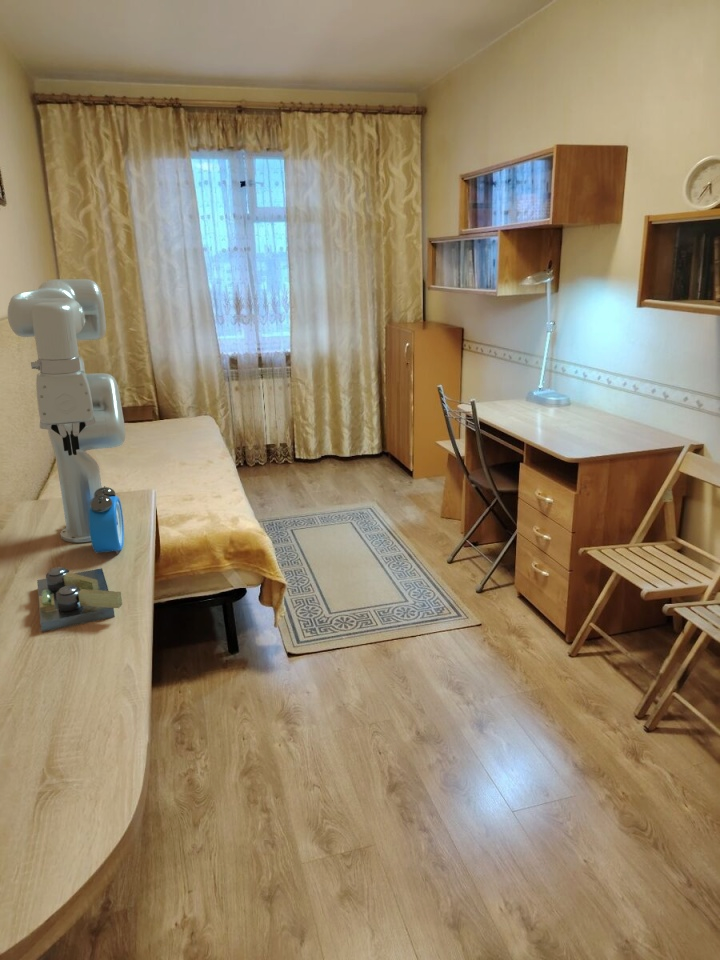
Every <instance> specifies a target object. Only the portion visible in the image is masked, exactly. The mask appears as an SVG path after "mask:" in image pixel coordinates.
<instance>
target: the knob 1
mask: <svg viewBox="0 0 720 960" xmlns="http://www.w3.org/2000/svg"><path fill="white" fill-rule="evenodd" d="M45 579H46V580H47V586H48V590H50V591H59V589H60V588H62V587H64V586H69V585H74V586H76V587H78V588H80V590H82V589H87V590H99V588H98V580H96V579H93V578H89V577H85V576H81V575H77V574H74V573H73V572H70V570H69V569H66V568H65V567H62V566H57V567H53V568H50V569H49V570H48V572H46V574H45Z"/></svg>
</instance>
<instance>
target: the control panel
mask: <svg viewBox="0 0 720 960" xmlns="http://www.w3.org/2000/svg"><path fill="white" fill-rule="evenodd" d="M73 574H77V575H81V576H85V577H89V578H93V579H96V580H98V588H99V590H102V591H110V590H109V587H108V584H107V580H106V577H105V573H104V570H103V568H97V569H92V570H85V571H79V572H75V573H73ZM36 582H37V593H38V594H37V595H38V597H37V598H38V608H39V611H38V613H39V623H40V630H41V633H45V632H49V631H54V630H58V629H59V630H60V629H64V628H68V627H74V626H78V625H82V624H87V623H92V622H96V621H101V620H105V619H110V618H115V610H114V609H115V608H108V607H94V606H81V607H79V608H78V609H75V610H72V611H60V610H59V609H58V605H57V598H56V592H57V591H50V590H48V586H47V580H46V578H40V579H37V581H36Z"/></svg>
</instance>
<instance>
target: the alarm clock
mask: <svg viewBox="0 0 720 960" xmlns="http://www.w3.org/2000/svg"><path fill="white" fill-rule="evenodd" d="M124 525H125V524H124V515H123V509H122V503H121V500H120V497H118V496H117V494H116V491H115V490H114V489H113V488H111V487H108V486H105V485H104V486H103V487H102V488H99V489H97V490H96V491H95V493H94V498H92V499H91V501H90V507H89V527H90V536H91V541H90V542H91V545H92V549H93V551H94V552H95V553H97V554H98V553H99V554H100V553H107V552H108V553H109V552H116V555H117V556H118V555H119V551H122V550H123V548H124V541H125V540H124V539H125V537H124V536H125V532H124V530H125V526H124Z"/></svg>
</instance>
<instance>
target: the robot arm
mask: <svg viewBox="0 0 720 960" xmlns="http://www.w3.org/2000/svg"><path fill="white" fill-rule="evenodd" d="M102 293H103V292H102V290H101V288H100V286H99V285H98V284H97V283H96V281H94V280H92V279H88V278H79V279H78V278H76V279H75V278H72V279H71V278H70V279H69V278H67V279H64V278H61V279H60V278H59V279H58V278H57V279H56V278H55V279H49V280H45V281H44V282H42V283H41V284H40V285H39V286H38V288H36V289H32V290H30V291H29V290H28V291H25V292H19V293H16V294H14V295H13V296H12V297H11V298H10V300H9V303H8V307H7V320H8V324H9V326H10V330H11V331H12V332H13V333H14V334H15V335H16V336H18V337H21V338H22V337H23V338H33V337H34V340H35V346H36V352H37V353H36V354H37V359H36V360H35V361H31V362H30V367H31V370H37V371H39V373H37V374H36V378H35V379H36V381H35V382H36V383H35V385H36V386H35V387H36V389H35V390H36V397H37V398H36V399H37V410H38V415H39V419H40V421H39V428H40V429H41V430H47V433H48V437H49V439H50V440H49V441H50V443H51V446H52V450H53V453H54V458H55V461H56V466H57V467H56V468H57V474H58V479H59V487H60V491H61V493H60V494H61V501H62V506H63V512H64V520H65V526H66V527H64V528H63V529H62V530H61V531H60V538H61V539H62V541H65V542H68V543H89V542H91V536H90V527H89V507H90V501H91V499H92V498H94V493H95V491H96V490H97V489H99V488H102V486H103V485H102V480H101V479H102V478H101V471H100V466H99V464H98V462H97V461H96V460H95V459H94V458H93V456H91V455H90V454H89V453H88V452H87V451H92V450H101V449H111V448H117V447H121V446H122V445H123V444H124V443H125V440H126V427H125V420H124V419H125V418H124V414H123V407H122V400H121V395H120V394H121V393H120V389H119V386H118V382H117V380H116V378H115V377H114V376H112V374H110V373H103V372H100V373H99V372H98V373H96V372H95V373H86V369H85V362H84V360H83V357H81V355H79V353H80V352H79V346H78V341H95V340H96V341H97V340H101V339H102V338H103V337H105V335H106V330H107V324H106V323H107V321H106V313H105V302H104V298H103V294H102Z"/></svg>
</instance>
